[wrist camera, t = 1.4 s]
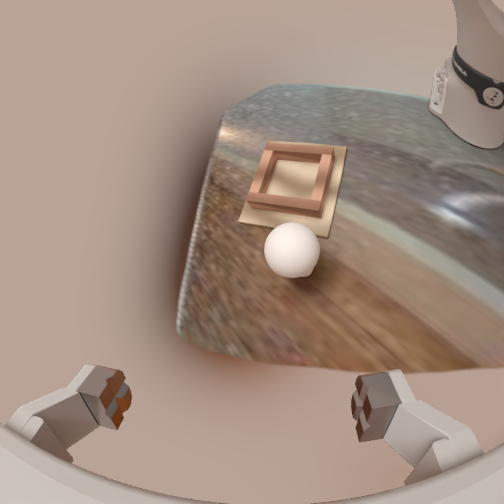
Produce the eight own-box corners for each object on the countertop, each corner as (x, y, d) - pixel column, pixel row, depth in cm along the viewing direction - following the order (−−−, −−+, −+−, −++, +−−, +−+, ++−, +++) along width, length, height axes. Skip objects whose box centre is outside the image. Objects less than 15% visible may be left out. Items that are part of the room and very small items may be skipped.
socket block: (268, 143, 48) (263, 132, 45) (346, 148, 42) (345, 136, 39) (239, 222, 44) (231, 214, 41) (327, 238, 38) (325, 229, 35)
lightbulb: (301, 240, 40) (281, 203, 30) (336, 264, 37) (327, 232, 27) (274, 274, 39) (245, 247, 30) (308, 300, 36) (289, 281, 27)
